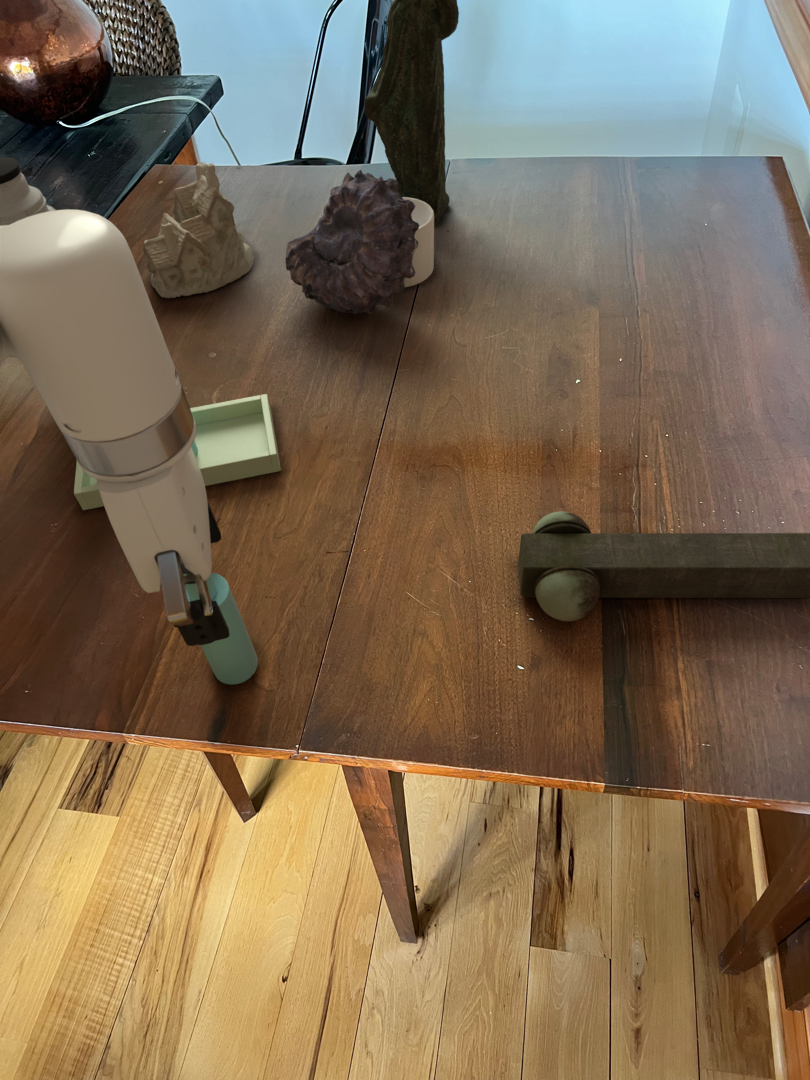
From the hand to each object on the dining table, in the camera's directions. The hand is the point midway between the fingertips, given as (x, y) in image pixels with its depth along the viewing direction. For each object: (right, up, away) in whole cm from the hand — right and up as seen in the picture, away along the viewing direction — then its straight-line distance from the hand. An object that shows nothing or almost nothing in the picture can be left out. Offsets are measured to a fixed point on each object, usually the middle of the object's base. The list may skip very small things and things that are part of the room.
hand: (205, 588), depth 60 cm
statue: (+17, +55, +61) cm, 84 cm away
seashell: (+12, +43, +41) cm, 61 cm away
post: (+42, +5, +12) cm, 44 cm away
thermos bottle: (-23, +22, +36) cm, 48 cm away
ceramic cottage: (-15, +45, +54) cm, 72 cm away
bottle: (0, -7, +9) cm, 11 cm away
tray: (-10, +13, +27) cm, 31 cm away
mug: (+14, +43, +50) cm, 68 cm away
